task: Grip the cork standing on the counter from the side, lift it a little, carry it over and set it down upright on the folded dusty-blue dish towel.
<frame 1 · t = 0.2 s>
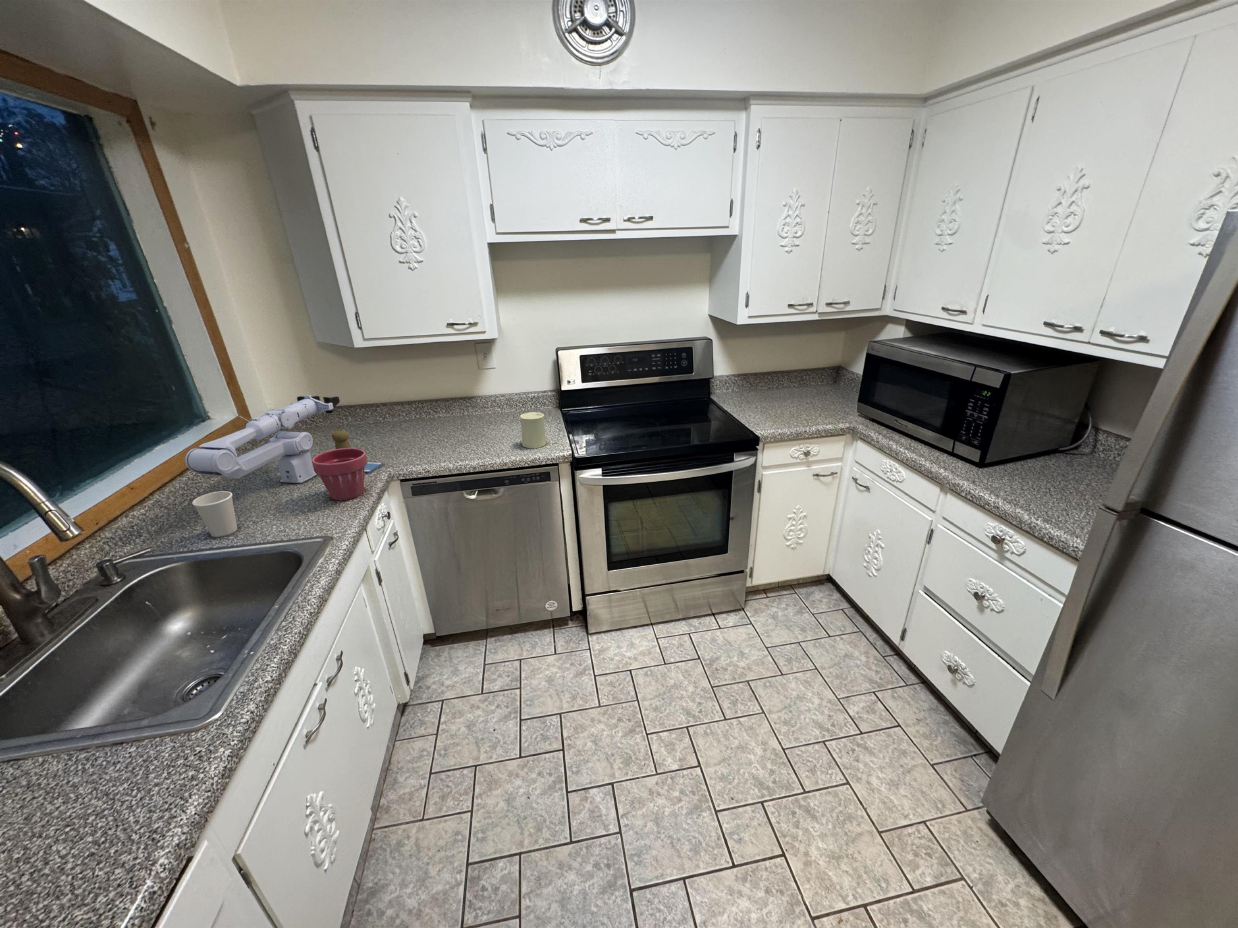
hand: (328, 399, 178), 21 cm above the countertop, tool horizontal, fingers open, 7 cm apart
can: (534, 444, 195), on the countertop
cork: (346, 461, 181), on the countertop
flower pot: (348, 494, 155), on the countertop
towel: (364, 468, 174), on the countertop
dixie cup: (224, 532, 134), on the countertop
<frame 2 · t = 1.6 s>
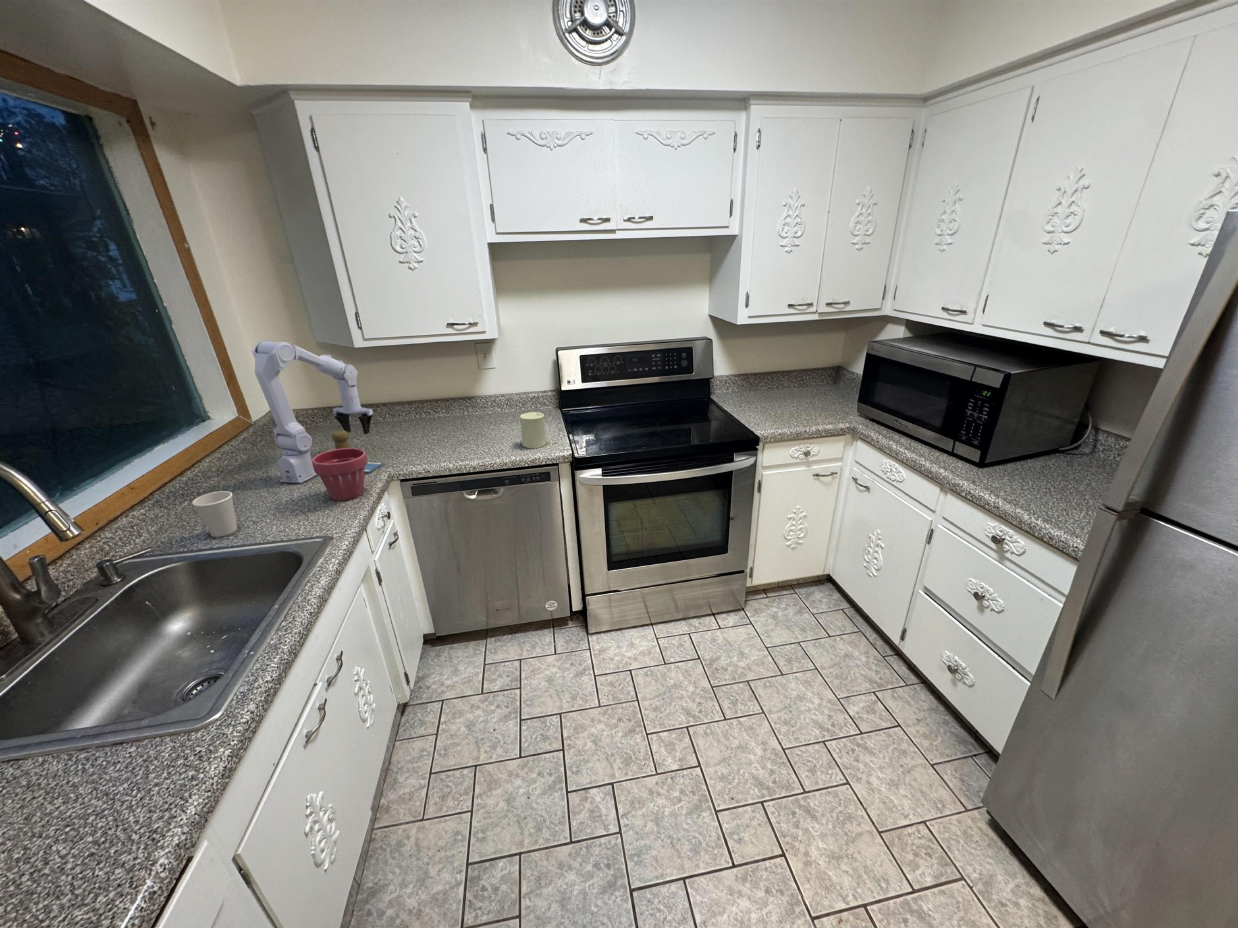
hand: (357, 433, 186), 7 cm above the countertop, tool pointing down, fingers open, 7 cm apart
nothing on the countertop moved.
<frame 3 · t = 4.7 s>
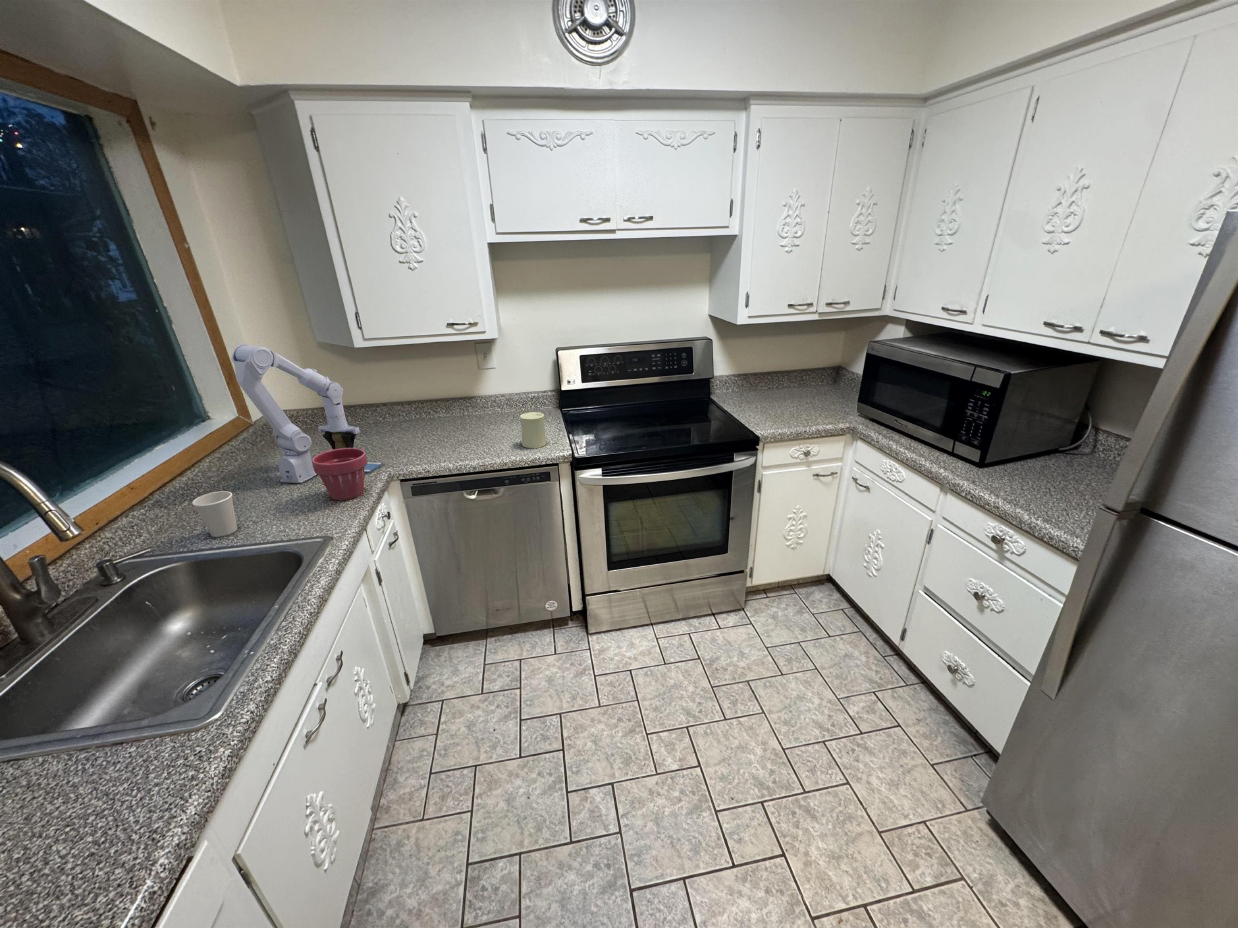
hand: (343, 451, 180), 3 cm above the countertop, tool pointing down, fingers closed on cork, 5 cm apart
cork: (346, 461, 181), on the countertop, touching gripper
everything else where it was.
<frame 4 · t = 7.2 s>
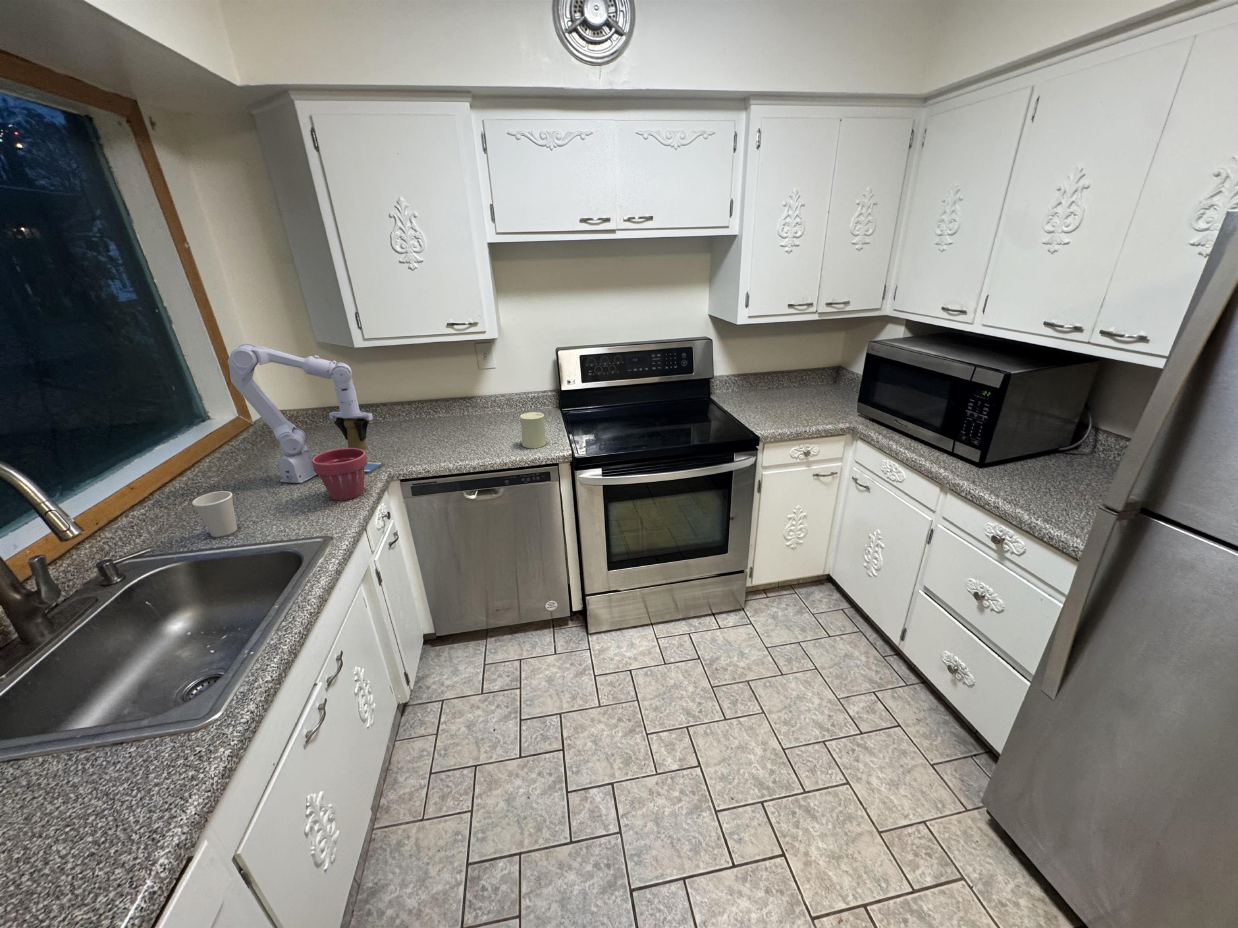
hand: (356, 439, 171), 10 cm above the countertop, tool pointing down, fingers closed on cork, 5 cm apart
cork: (358, 449, 172), point 7 cm above the countertop, touching gripper
everything else where it was.
when the fingers open (4 cm above the countertop, at t = 9.6 s): cork stays where it is, resting on towel.
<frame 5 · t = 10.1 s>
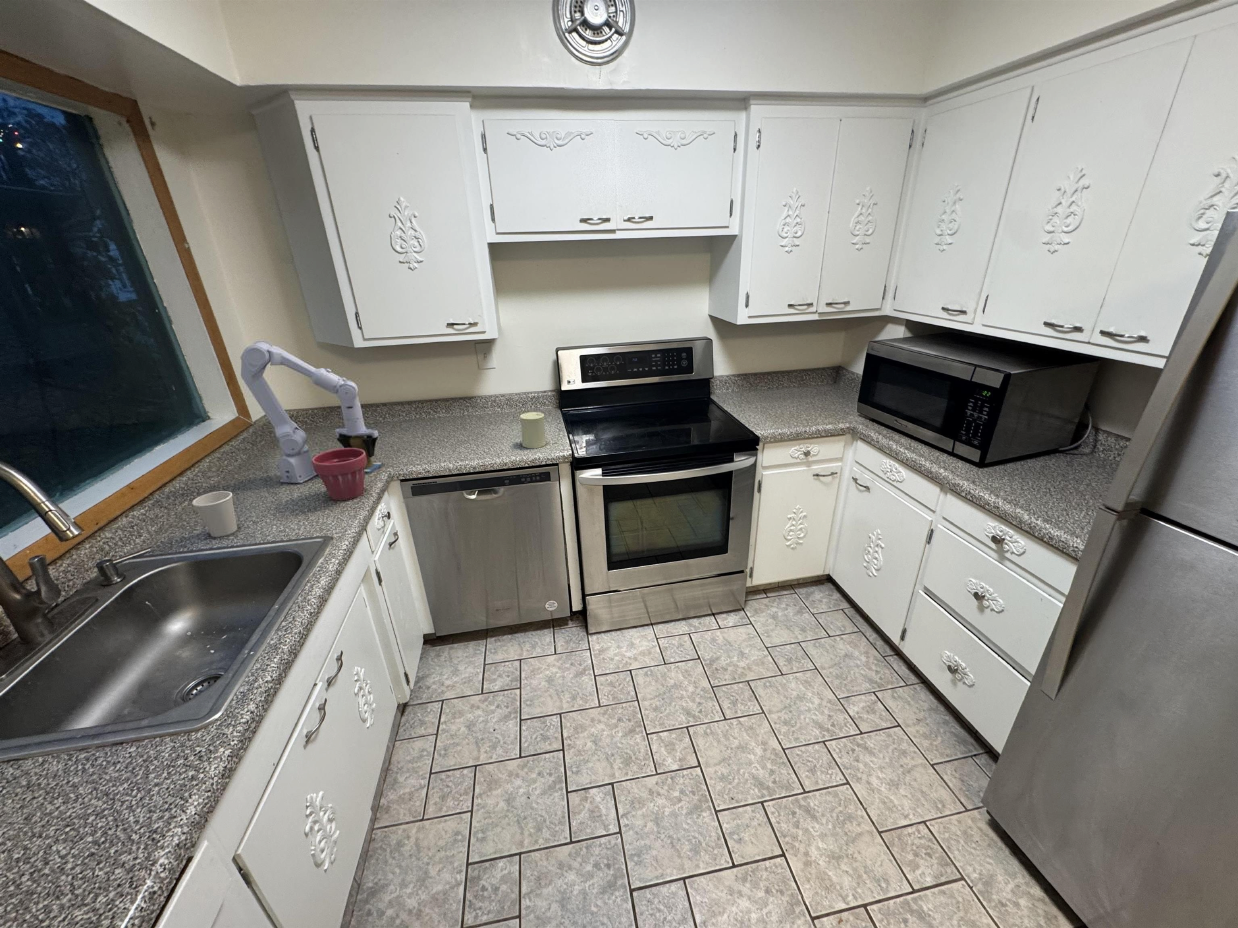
hand: (361, 455, 173), 5 cm above the countertop, tool pointing down, fingers open, 7 cm apart
cork: (364, 466, 174), resting on towel
everything else where it was.
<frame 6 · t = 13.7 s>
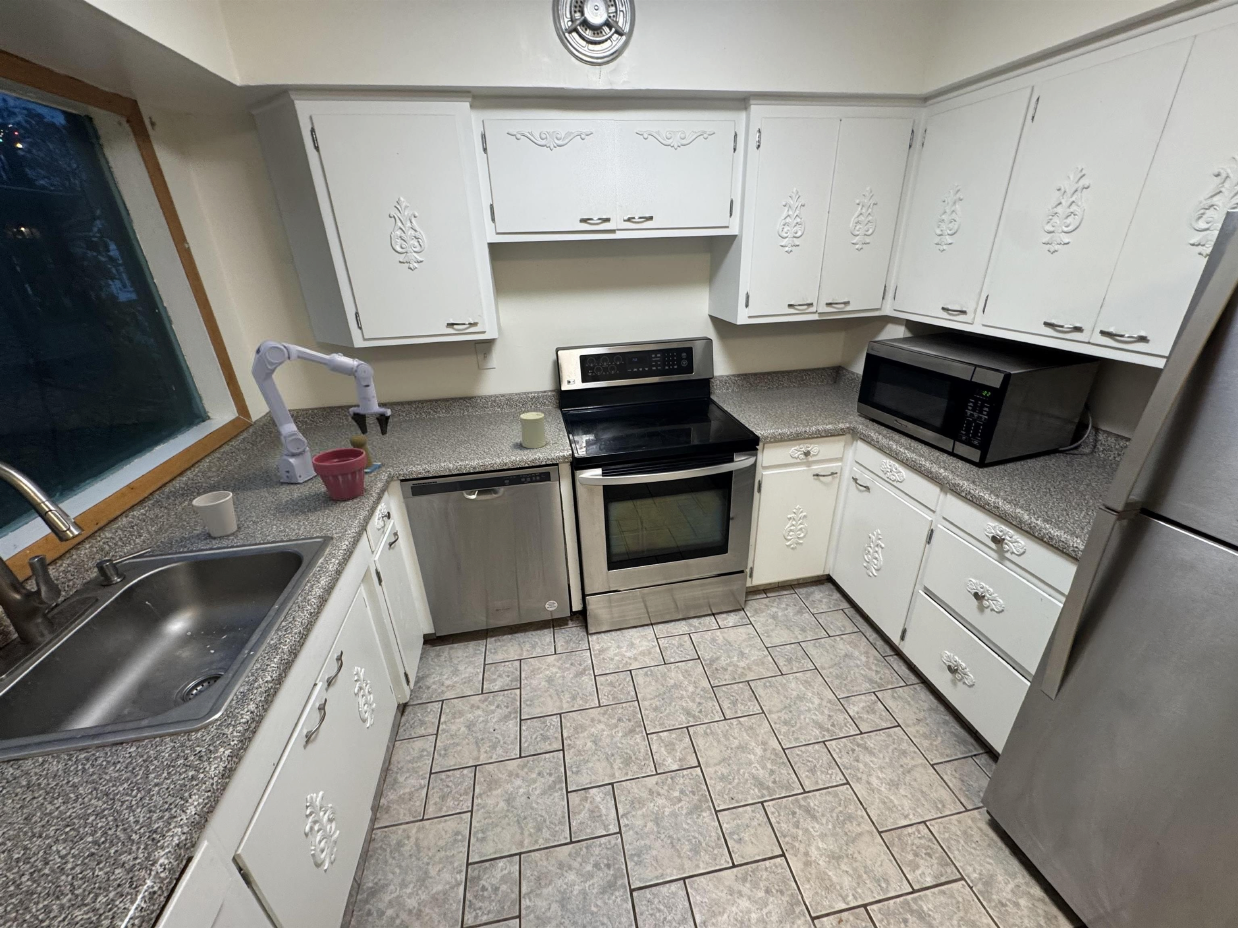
hand: (374, 434, 179), 9 cm above the countertop, tool pointing down, fingers open, 7 cm apart
nothing on the countertop moved.
at the end: cork inside the target area on the towel (0.0 cm from its centre), point 0.5 cm above the towel's base; cork tilted 0°; the gripper is holding nothing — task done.
